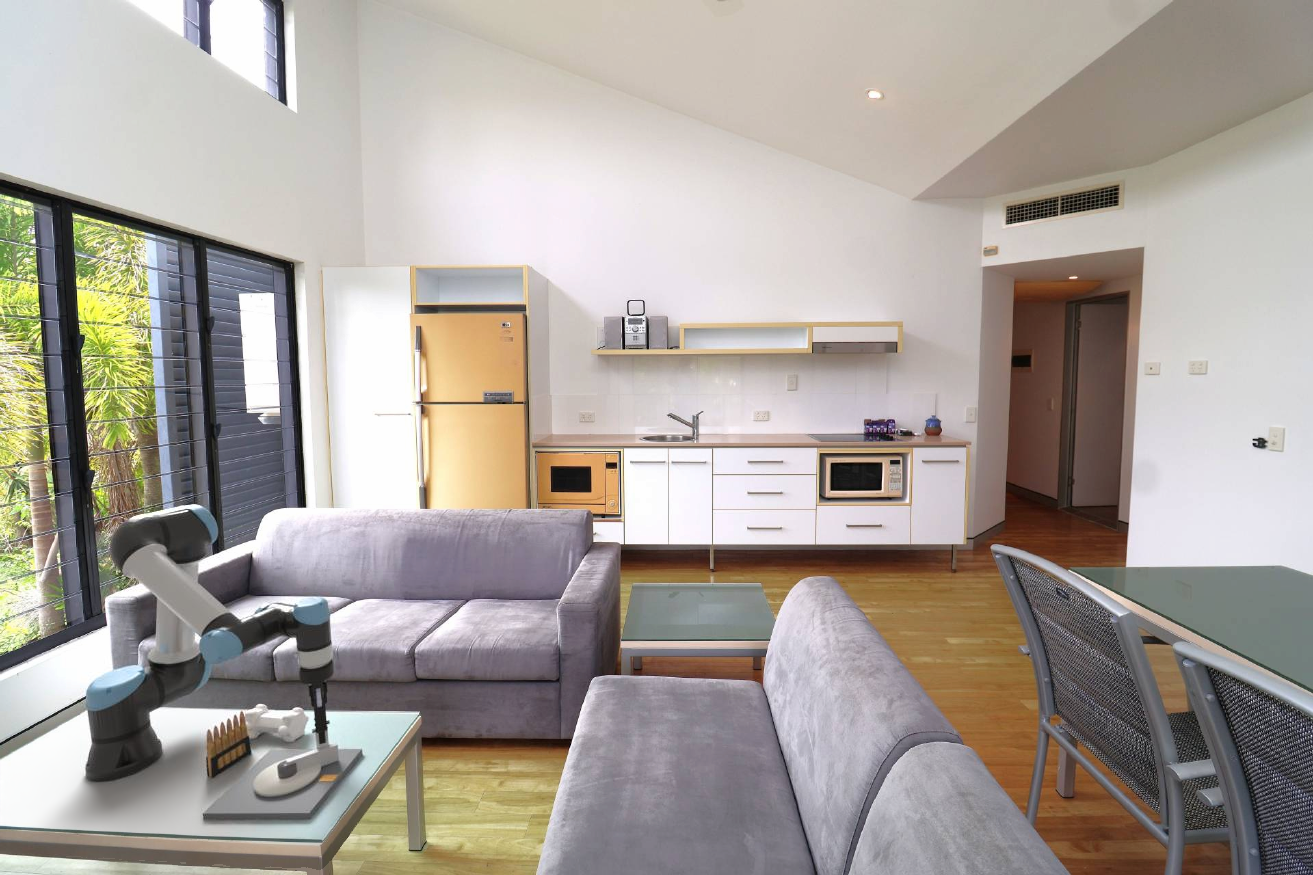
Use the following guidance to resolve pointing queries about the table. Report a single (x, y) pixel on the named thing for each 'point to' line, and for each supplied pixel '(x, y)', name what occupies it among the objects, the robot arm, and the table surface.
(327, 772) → the dial base
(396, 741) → the table surface
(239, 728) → the ammunition clip
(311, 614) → the robot arm
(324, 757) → the dial
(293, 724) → the white bone
